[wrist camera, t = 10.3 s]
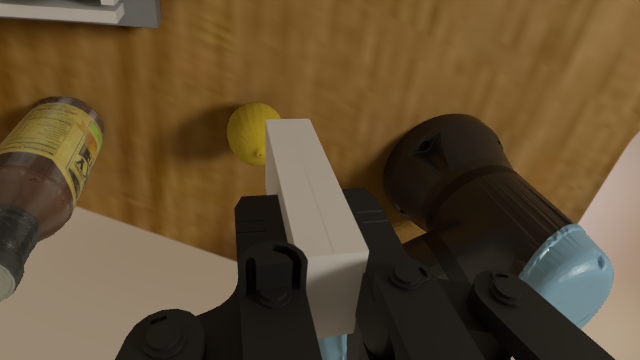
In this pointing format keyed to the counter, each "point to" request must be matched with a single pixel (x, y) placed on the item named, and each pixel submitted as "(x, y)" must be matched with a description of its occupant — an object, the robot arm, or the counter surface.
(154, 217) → the counter surface
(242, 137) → the lemon
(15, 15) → the knob panel
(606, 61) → the counter surface
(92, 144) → the sauce bottle
